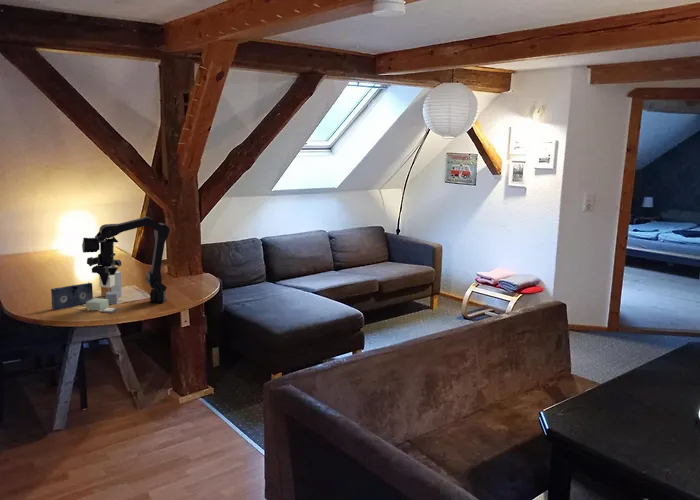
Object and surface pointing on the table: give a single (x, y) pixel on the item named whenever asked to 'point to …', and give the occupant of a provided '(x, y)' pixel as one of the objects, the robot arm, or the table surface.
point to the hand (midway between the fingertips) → (107, 283)
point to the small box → (114, 288)
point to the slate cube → (112, 297)
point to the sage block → (97, 304)
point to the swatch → (109, 310)
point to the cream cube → (110, 281)
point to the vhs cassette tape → (71, 296)
